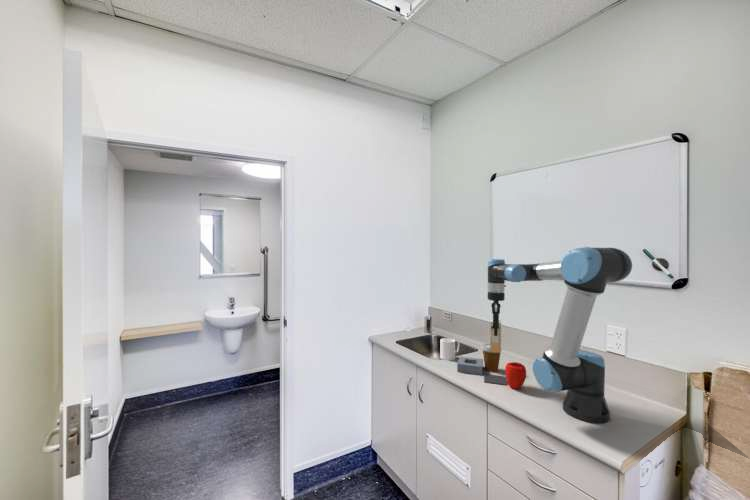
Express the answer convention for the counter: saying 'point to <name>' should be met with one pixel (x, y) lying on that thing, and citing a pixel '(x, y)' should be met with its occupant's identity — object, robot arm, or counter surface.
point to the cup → (448, 348)
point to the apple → (515, 374)
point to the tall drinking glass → (493, 345)
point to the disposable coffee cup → (490, 358)
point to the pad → (495, 379)
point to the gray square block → (470, 365)
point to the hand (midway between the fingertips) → (495, 340)
